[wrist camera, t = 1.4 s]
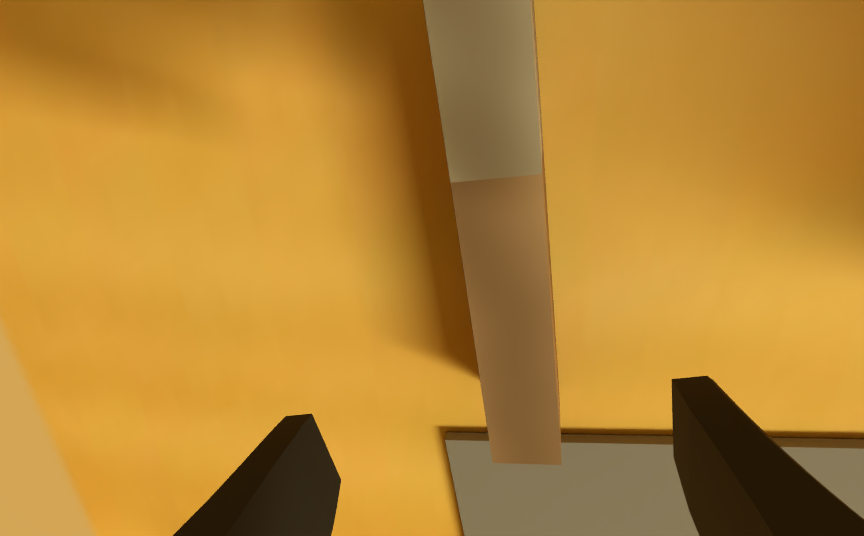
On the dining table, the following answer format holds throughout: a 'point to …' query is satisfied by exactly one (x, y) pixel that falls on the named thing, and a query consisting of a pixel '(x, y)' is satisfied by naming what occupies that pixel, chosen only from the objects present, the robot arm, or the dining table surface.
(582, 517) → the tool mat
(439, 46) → the two-tone flat stick
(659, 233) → the dining table surface
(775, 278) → the dining table surface
